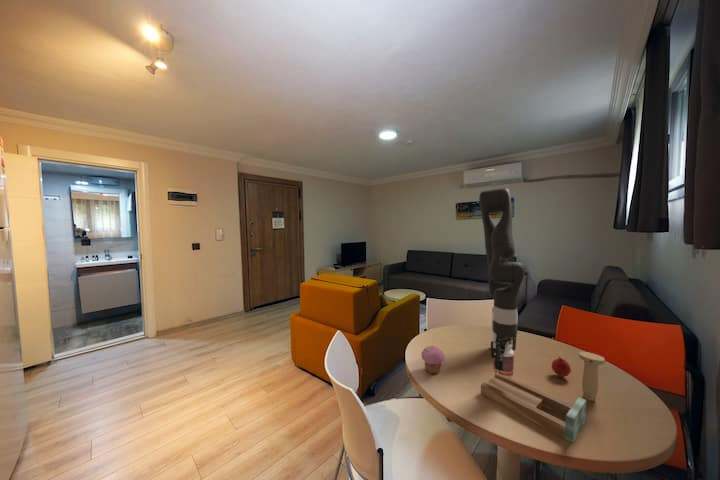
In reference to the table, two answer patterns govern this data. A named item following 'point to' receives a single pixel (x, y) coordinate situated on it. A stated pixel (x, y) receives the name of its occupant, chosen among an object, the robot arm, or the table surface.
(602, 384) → the table surface
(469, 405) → the table surface
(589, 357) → the handle
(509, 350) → the pill bottle
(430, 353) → the cupcake
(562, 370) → the onion
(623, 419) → the table surface
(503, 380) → the channel board
